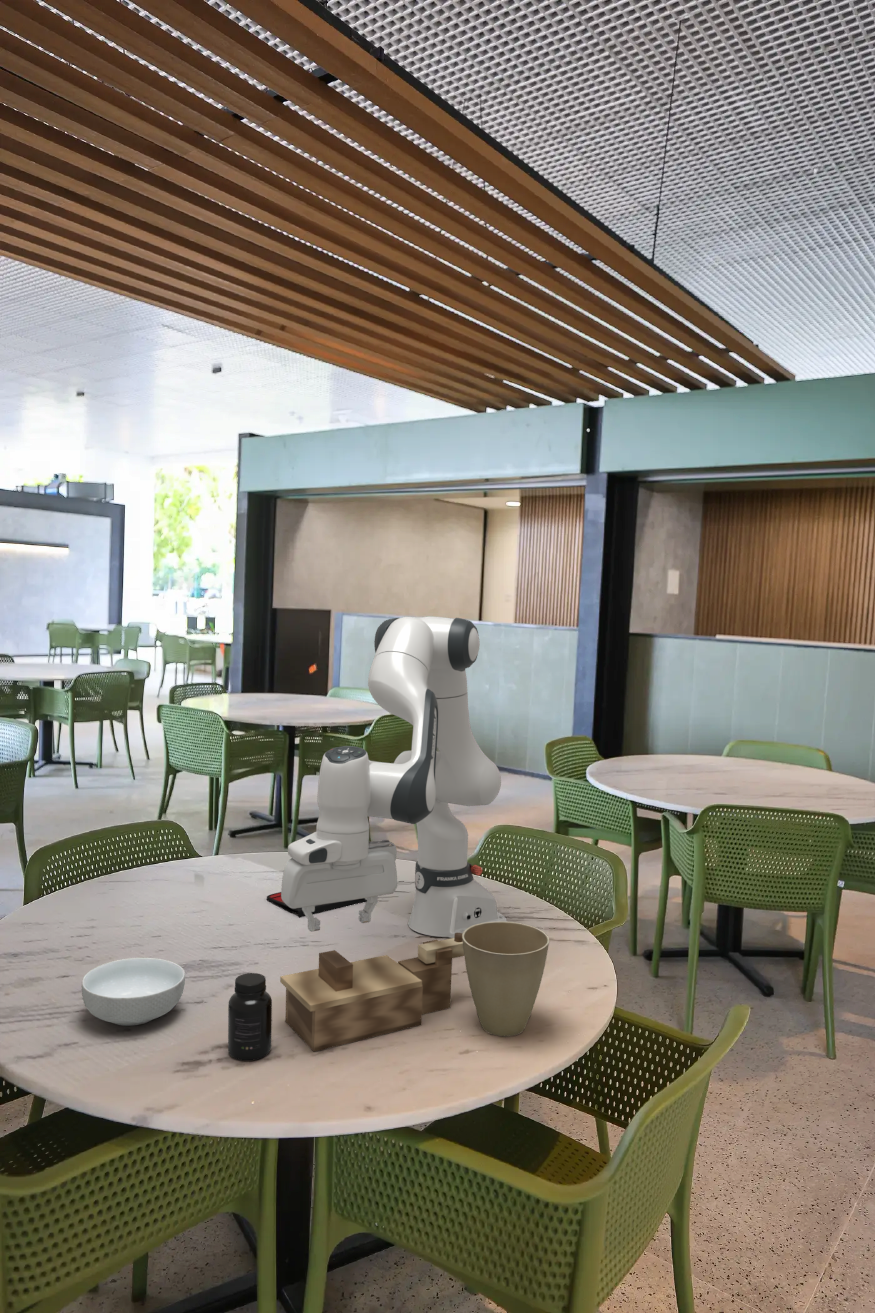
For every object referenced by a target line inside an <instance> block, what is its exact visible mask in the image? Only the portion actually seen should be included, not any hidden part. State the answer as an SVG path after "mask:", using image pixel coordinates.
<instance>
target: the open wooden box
mask: <svg viewBox="0 0 875 1313" xmlns="http://www.w3.org/2000/svg"><path fill="white" fill-rule="evenodd" d="M436 941H439V940H438V939H432V940H426V941H423V942H422V944H426V943H431V942H436ZM397 963H398V964H400V965H401V966H402V967H404V968H405V969H406V970H408V971H409V972H411V973H412V974H413V975H415V976H416V977H417V978H419V979H420V980H422V987H417V988H413V989H408V990H404V991H400V992H395V993H391V994H386V995H382V996H377V997H373V998H369V999H364V1000H360V1001H355V1002H351V1003H346V1004H342V1005H338V1006H333V1007H329V1008H324V1009H320V1010H315V1011H311V1012H310V1011H309V1010H308V1009H307V1008H306V1007H305V1006H304V1005H303V1004H302V1003H301V1002H300V1001H299V1000H298V999H297V998H296V997H295V996H294V995H293V994H292V993H291V992H290V991H289V990H288V989H287V988H286V987H285V1018H284V1020H285V1022H286V1024H287V1025H288V1026H289V1027H290V1028H291V1029H292V1030H293V1031H294V1032H295V1033H296V1034H297V1036H298V1037H299V1038H301V1040H302V1041H303V1042H304V1043H305V1044H306V1045H307V1046H308V1048H309V1049H310V1050H312V1052H314V1053H315V1052H319V1051H323V1050H327V1049H332V1048H335V1047H340V1046H343V1045H347V1044H352V1043H355V1042H359V1041H363V1040H366V1039H371V1038H375V1037H379V1036H383V1035H387V1034H391V1033H392V1034H393V1033H395V1032H399V1031H402V1030H403V1031H404V1030H407V1029H412V1028H415V1027H420V1026H422V1019H423V1018H422V1016H423V1015H427V1014H431V1013H435V1012H438V1011H443V1010H447V1009H451V1000H452V976H453V975H452V974H453V973H452V972H453V958H452V949H451V948H448V949H443V950H438V951H436V960H435V962H433V963H428V964H426V963H424V962H423V961H421V960H420V959H419V958H418V956H417V957H416V956H415V957H411V958H407V959H406V958H405V959H401V960H398V961H397Z"/></svg>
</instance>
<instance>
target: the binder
mask: <svg viewBox="0 0 875 1313" xmlns="http://www.w3.org/2000/svg"><path fill="white" fill-rule="evenodd" d="M266 900H267V901H268V902H269V903H271V904H274V905H275V906H276V907H278V908H280V909H282V910H283V911H286V913H290V914H293V912H294V913H298V918H299V919H300V918H301V919H302V918H304V917H306V915H305V914H304V912H303V910H302V908H295V909H292V908H290V907H289V906H287V905H286V904H285V903H284V902H283V900H282V898H281V891H279V892H276V893H270V894H269V895H267V896H266ZM363 902H364V903H366V902H367V900H366V899H365V898H362V899H355V900H348V901H342V902H335V903H328V904H322V905H315V911H314V912H311V913H312V915H313V916H314V915H317V914H321V913H324V912H329V911H334V910H337V909H342V908H345V907H346V906H347V907H350V905H351V906H354V904H355V905H358V903H359V904H363Z"/></svg>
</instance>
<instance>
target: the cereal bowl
mask: <svg viewBox="0 0 875 1313" xmlns="http://www.w3.org/2000/svg"><path fill="white" fill-rule="evenodd" d="M185 982H186V972H185V969H184V968H183V967H182V966H181V965H179V964H177V963H175V962H173V961H171V960H168V959H163V958H155V957H130V958H122V959H117V960H113V961H109V962H105V963H103V964H100V965H98V966H96V967H94V968H92V969H91V970H89V971H88V972H87V973H85V975H84V977H83V978H82V981H81V996H82V997H81V998H82V1001H83V1004H84V1007H85V1008H86V1010H88V1012H89V1013H90V1014H91V1015H93V1017H96V1018H97V1019H100V1020H102V1021H105V1022H106V1023H112V1024H114V1025H118V1026H124V1027H126V1026H127V1027H128V1026H131V1027H132V1026H138V1025H139V1026H140V1025H143V1024H146V1023H148V1022H151V1021H152V1020H155V1019H157V1018H159V1017H162V1016H164V1015H166V1014H167V1013H168V1012H170V1011H171V1010H173V1008H175V1006H176V1005H177V1004H178V1003H179V1001H180V999H181V997H182V996H183V994H184V990H185Z"/></svg>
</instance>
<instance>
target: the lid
mask: <svg viewBox="0 0 875 1313" xmlns="http://www.w3.org/2000/svg"><path fill="white" fill-rule="evenodd" d="M279 978H280V979H279V980H280V984H282V985H283V986H284V987H285V989H286V988H287V989H288V990H289V991H290V992H291V993H292V994H293V995H294V996H295V997H296V998H297V999H298V1000H299V1001H300V1002H301V1003H302V1004H303V1005H304V1006H305V1007H306V1008H307V1009H308V1010H309V1011H310V1012H311V1011H315V1010H320V1009H324V1008H329V1007H333V1006H338V1005H342V1004H346V1003H351V1002H355V1001H360V1000H364V999H369V998H373V997H377V996H382V995H386V994H391V993H395V992H400V991H404V990H408V989H413V988H417V987H422V980H420V979H419V978H417V977H416V976H415V975H413V974H412V973H411V972H409V971H408V970H406V969H405V968H404V967H402V966H401V965H400V964H398V961H396V960H394V959H393V958H391V957H390V956H388V955H387V954H385V955H380V956H376V957H375V956H374V957H371V958H370V957H369V958H365V959H360V960H359V959H358V960H355V961H350V960H348V959H347V958H346V957H344V956H343V955H342V954H340V953H339V952H338V951H337V950H335V949H333V950H329V951H324V952H319V953H318V968H316V969H310V970H306V971H300V972H295V973H290V974H284V975H280V977H279Z"/></svg>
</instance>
